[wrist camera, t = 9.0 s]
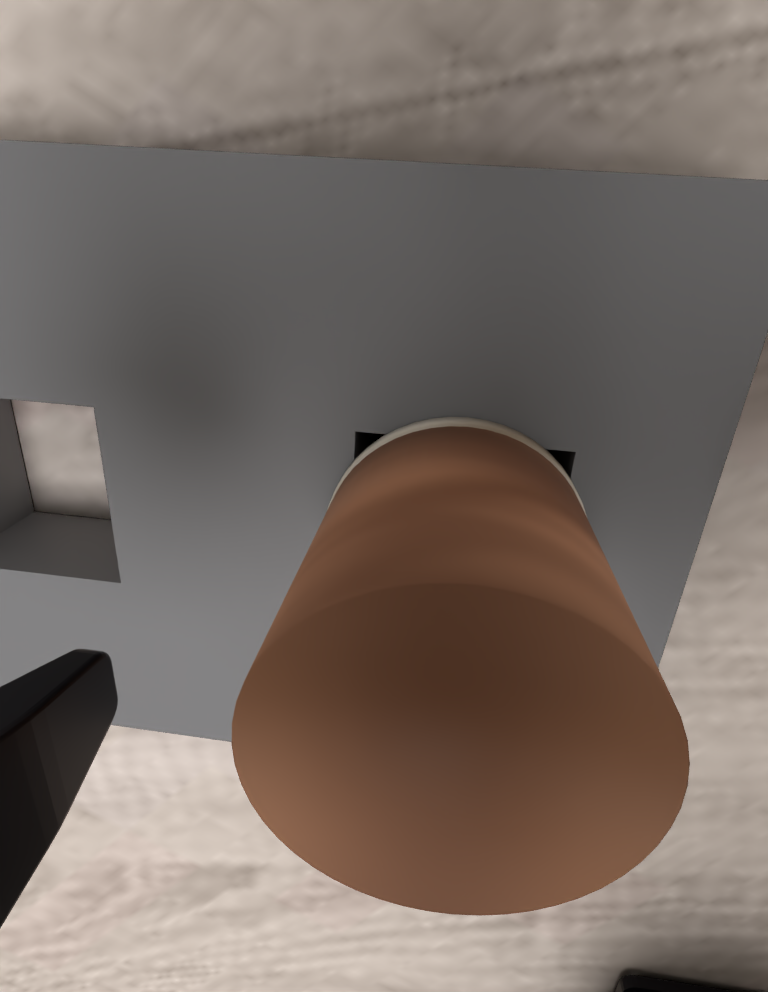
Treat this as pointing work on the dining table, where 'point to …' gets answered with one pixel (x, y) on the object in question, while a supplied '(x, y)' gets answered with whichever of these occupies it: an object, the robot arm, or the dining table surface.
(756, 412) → the dining table surface
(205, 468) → the charcoal board
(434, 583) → the mahogany dowel
